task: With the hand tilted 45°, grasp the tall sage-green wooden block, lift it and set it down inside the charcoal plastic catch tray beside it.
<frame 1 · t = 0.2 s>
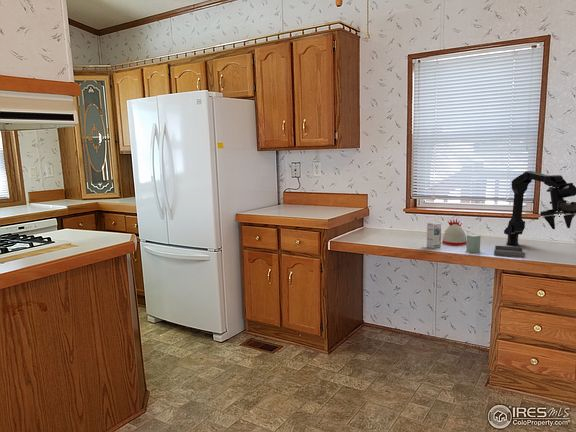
hand: (561, 228, 233), 15 cm above the table, tool pointing down, fingers open, 9 cm apart
sage block: (473, 251, 253), on the table
cream dome with spikes: (454, 243, 275), on the table
catch tray: (508, 253, 246), on the table
syrup box: (433, 247, 266), on the table
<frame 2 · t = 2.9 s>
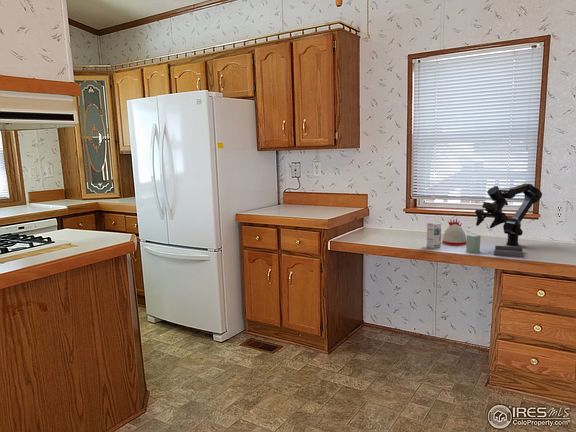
hand: (483, 226, 255), 13 cm above the table, tool tilted 45°, fingers open, 9 cm apart
nothing on the table moved.
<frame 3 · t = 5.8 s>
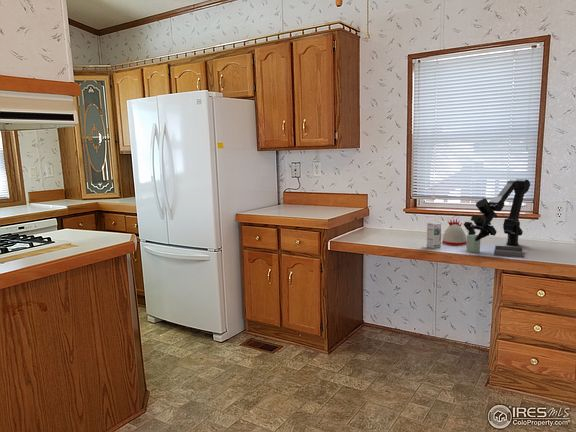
hand: (471, 239, 252), 7 cm above the table, tool tilted 45°, fingers closed on sage block, 5 cm apart
sage block: (473, 251, 253), on the table, touching gripper
everything else where it was.
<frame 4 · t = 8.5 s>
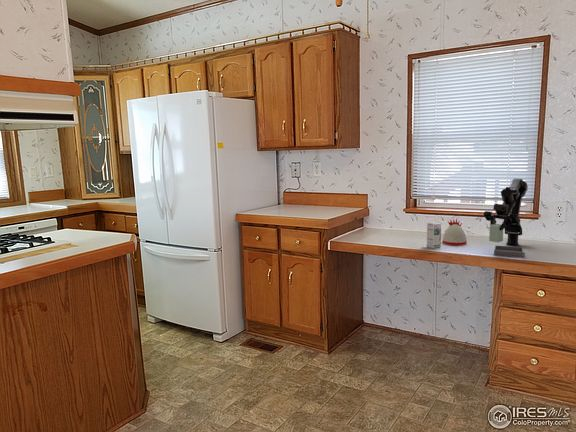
hand: (495, 229, 245), 13 cm above the table, tool tilted 45°, fingers closed on sage block, 5 cm apart
sage block: (496, 241, 247), point 7 cm above the table, touching gripper
everything else where it was.
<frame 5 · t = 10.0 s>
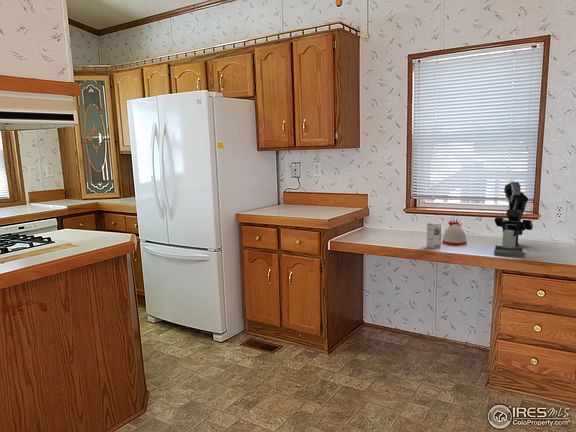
hand: (508, 235, 244), 10 cm above the table, tool tilted 45°, fingers closed on sage block, 5 cm apart
sage block: (508, 246, 246), point 4 cm above the table, touching gripper
everything else where it was.
when the fingers open (8 cm above the table, at t = 11.2 s): sage block drops 1 cm, resting on catch tray.
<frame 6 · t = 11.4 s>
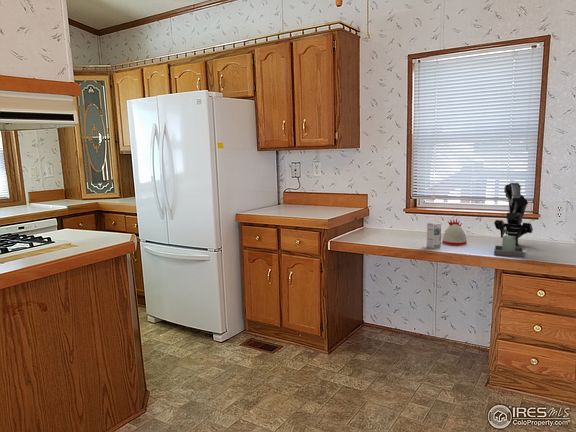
hand: (508, 238, 244), 9 cm above the table, tool tilted 45°, fingers open, 7 cm apart
sage block: (508, 252, 246), resting on catch tray
everything else where it was.
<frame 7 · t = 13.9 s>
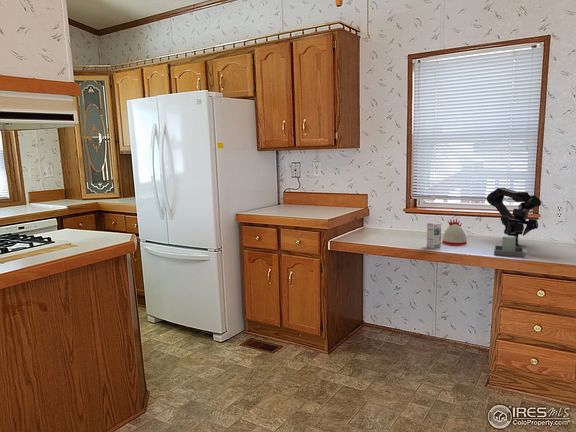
hand: (514, 234, 250), 10 cm above the table, tool tilted 45°, fingers open, 9 cm apart
nothing on the table moved.
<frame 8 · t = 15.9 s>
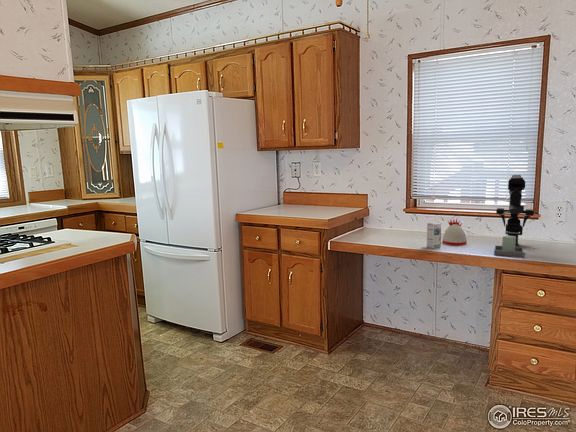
hand: (513, 226, 254), 13 cm above the table, tool pointing down, fingers open, 9 cm apart
nothing on the table moved.
at the end: sage block inside the target area on the catch tray (0.0 cm from its centre), point 0.5 cm above the catch tray's base; sage block tilted 0°; the gripper is holding nothing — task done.
